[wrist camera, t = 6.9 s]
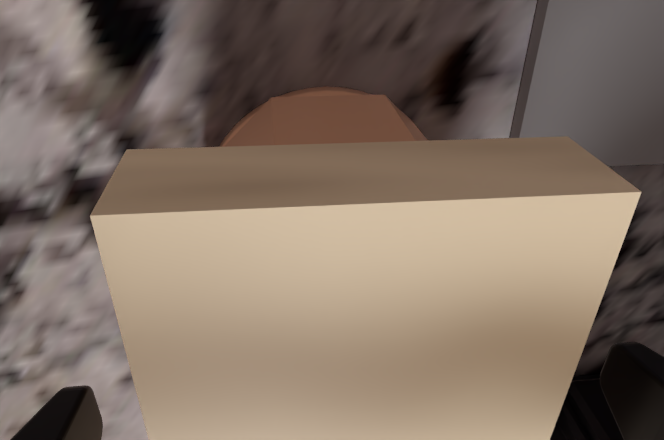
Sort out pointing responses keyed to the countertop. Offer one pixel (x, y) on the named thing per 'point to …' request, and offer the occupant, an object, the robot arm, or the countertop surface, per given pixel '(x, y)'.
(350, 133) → the bowl
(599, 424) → the robot arm
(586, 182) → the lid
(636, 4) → the mat
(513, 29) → the countertop surface
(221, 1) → the countertop surface
